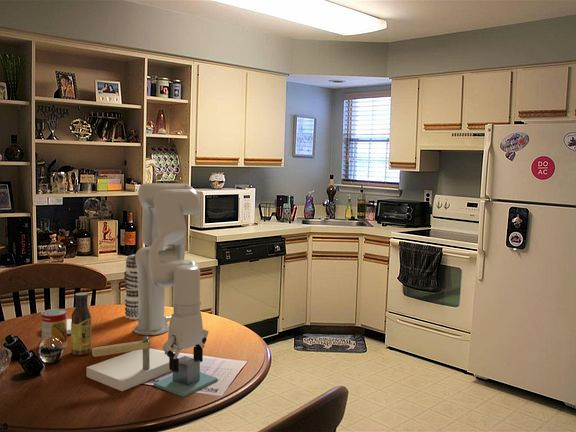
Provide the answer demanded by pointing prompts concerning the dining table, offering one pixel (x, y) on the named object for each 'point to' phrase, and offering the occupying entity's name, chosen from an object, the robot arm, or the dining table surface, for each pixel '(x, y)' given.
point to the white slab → (130, 369)
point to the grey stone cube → (187, 371)
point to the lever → (121, 347)
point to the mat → (183, 389)
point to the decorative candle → (131, 287)
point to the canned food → (55, 324)
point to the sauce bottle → (81, 326)
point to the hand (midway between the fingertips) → (186, 365)
